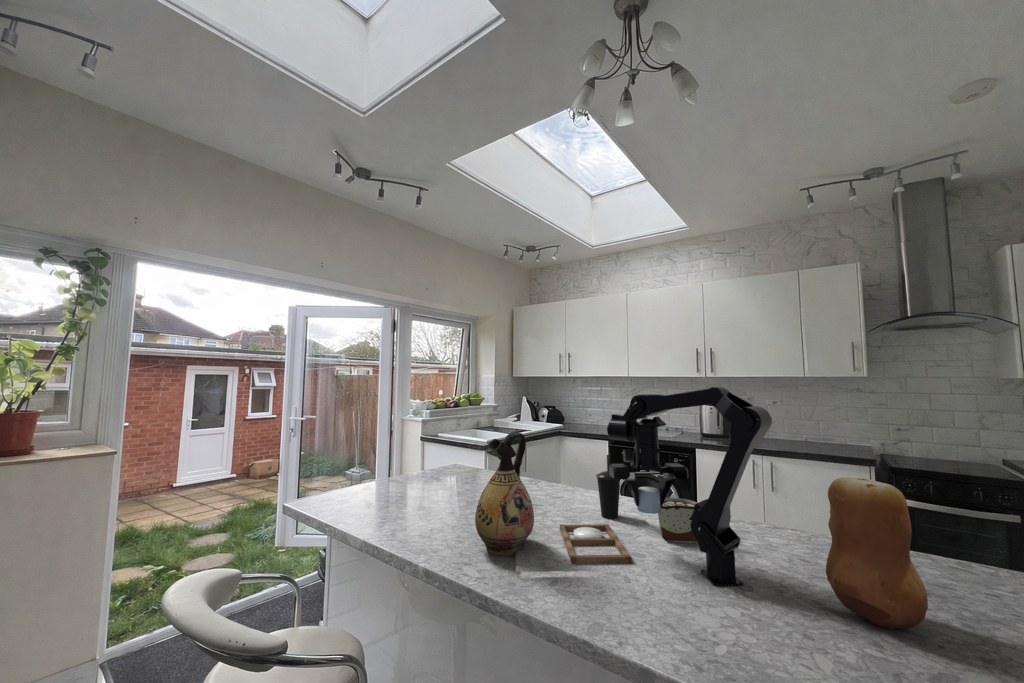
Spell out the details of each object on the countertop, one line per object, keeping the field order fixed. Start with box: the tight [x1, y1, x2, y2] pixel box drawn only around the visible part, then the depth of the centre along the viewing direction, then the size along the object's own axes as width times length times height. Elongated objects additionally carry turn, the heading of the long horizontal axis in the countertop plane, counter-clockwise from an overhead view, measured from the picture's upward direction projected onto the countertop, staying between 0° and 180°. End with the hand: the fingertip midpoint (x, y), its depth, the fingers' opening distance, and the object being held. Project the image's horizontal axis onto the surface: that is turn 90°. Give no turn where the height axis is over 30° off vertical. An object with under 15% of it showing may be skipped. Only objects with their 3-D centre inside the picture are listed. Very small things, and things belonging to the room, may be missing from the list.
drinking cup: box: [595, 454, 621, 520], centre depth 130 cm, size 8×8×20 cm
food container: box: [657, 497, 698, 543], centre depth 115 cm, size 12×6×10 cm, turn 84°
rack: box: [559, 523, 632, 565], centre depth 107 cm, size 22×14×2 cm, turn 0°
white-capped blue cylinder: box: [636, 486, 661, 515], centre depth 105 cm, size 6×6×5 cm
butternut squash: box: [825, 475, 929, 630], centre depth 76 cm, size 14×13×25 cm
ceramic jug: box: [474, 431, 535, 556], centre depth 109 cm, size 17×15×30 cm
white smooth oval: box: [573, 527, 603, 539], centre depth 113 cm, size 8×8×1 cm
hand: (648, 505), depth 104 cm, fingers closed on white-capped blue cylinder, 6 cm apart
